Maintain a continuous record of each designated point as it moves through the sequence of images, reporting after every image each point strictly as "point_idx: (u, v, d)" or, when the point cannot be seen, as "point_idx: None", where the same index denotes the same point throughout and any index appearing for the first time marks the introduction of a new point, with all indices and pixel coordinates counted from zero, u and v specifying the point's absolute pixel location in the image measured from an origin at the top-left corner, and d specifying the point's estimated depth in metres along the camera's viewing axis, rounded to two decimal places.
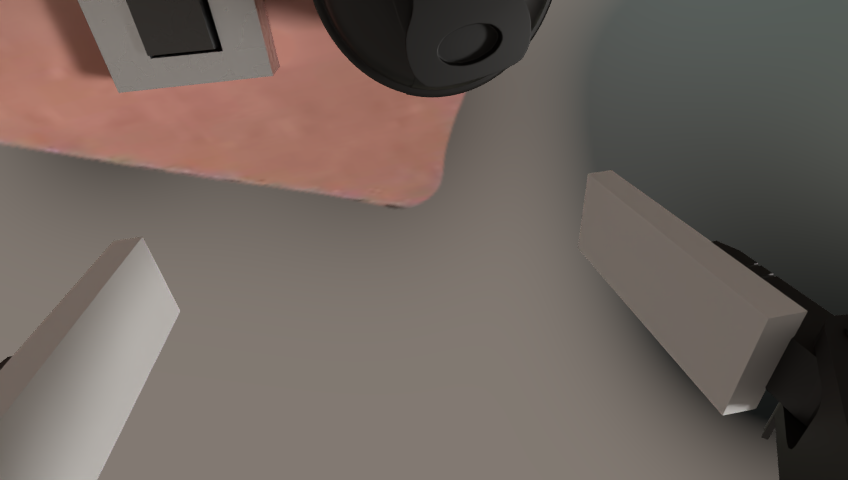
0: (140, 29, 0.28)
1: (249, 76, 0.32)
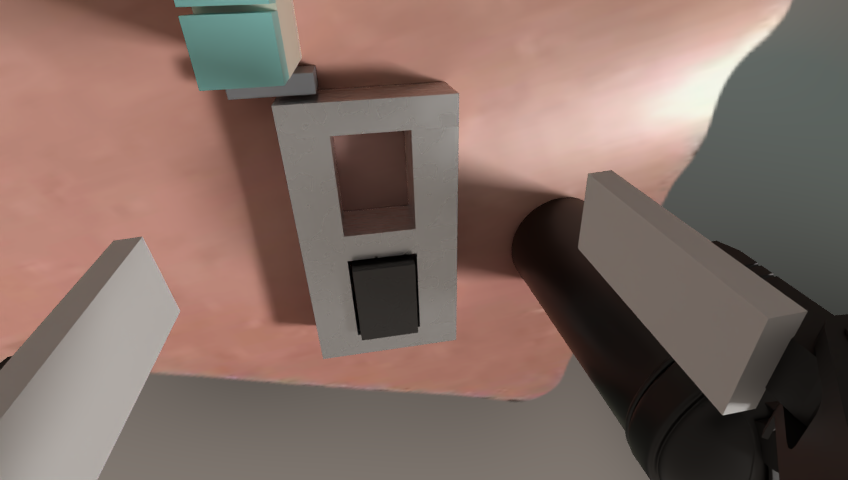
0: (362, 324, 0.32)
1: (436, 341, 0.36)
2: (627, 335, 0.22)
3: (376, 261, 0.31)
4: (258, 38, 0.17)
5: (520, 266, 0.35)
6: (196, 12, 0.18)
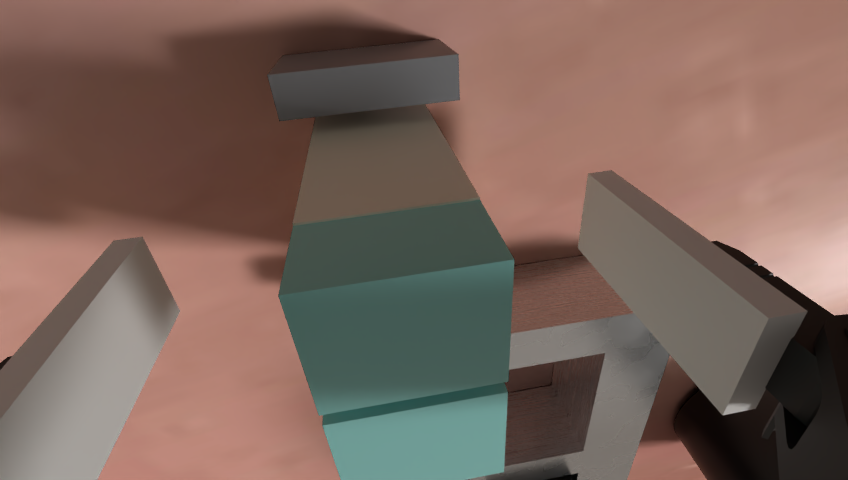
0: None
1: None
2: None
3: None
4: (473, 427, 0.09)
5: (695, 452, 0.26)
6: None
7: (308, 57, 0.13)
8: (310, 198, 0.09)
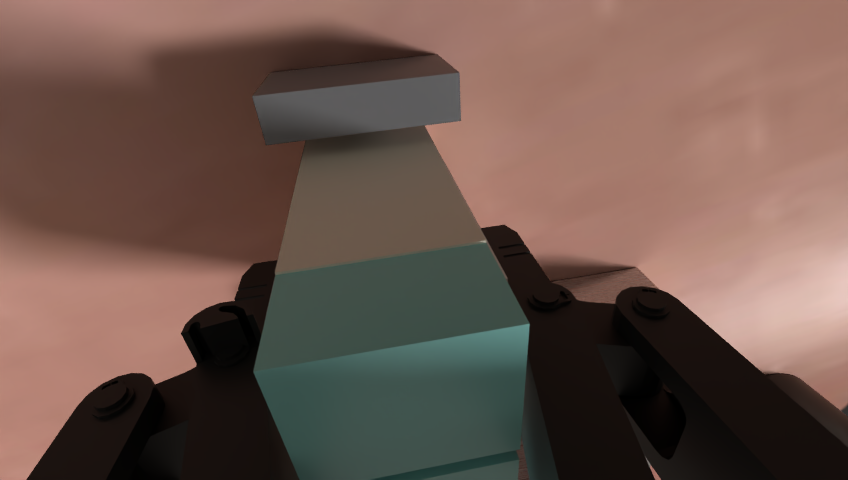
0: None
1: None
2: None
3: None
4: None
5: None
6: None
7: (298, 75, 0.12)
8: (296, 239, 0.08)
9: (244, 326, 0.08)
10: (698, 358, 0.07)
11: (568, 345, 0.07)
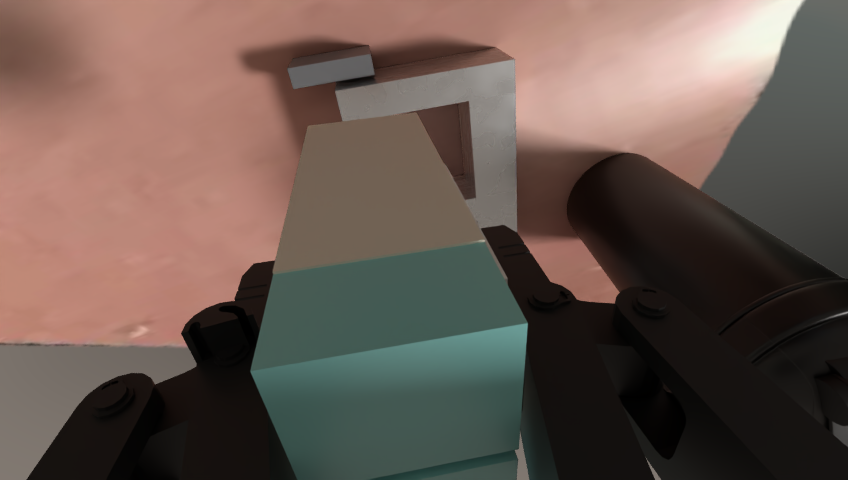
0: None
1: None
2: (686, 297, 0.23)
3: None
4: None
5: (576, 227, 0.36)
6: None
7: None
8: (294, 238, 0.08)
9: (244, 326, 0.08)
10: (698, 358, 0.07)
11: (568, 345, 0.07)
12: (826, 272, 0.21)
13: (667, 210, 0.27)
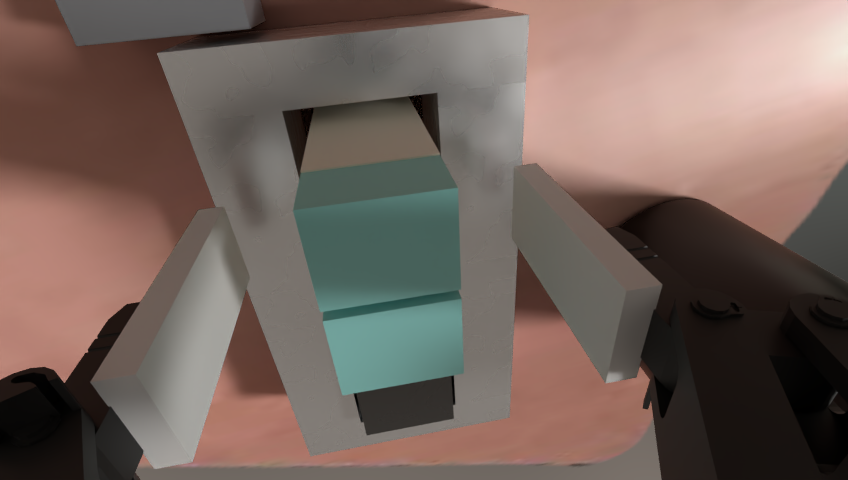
0: (365, 414, 0.20)
1: (480, 421, 0.24)
2: None
3: None
4: (436, 329, 0.11)
5: None
6: None
7: None
8: (313, 155, 0.11)
9: (51, 393, 0.07)
10: None
11: (737, 358, 0.07)
12: None
13: None
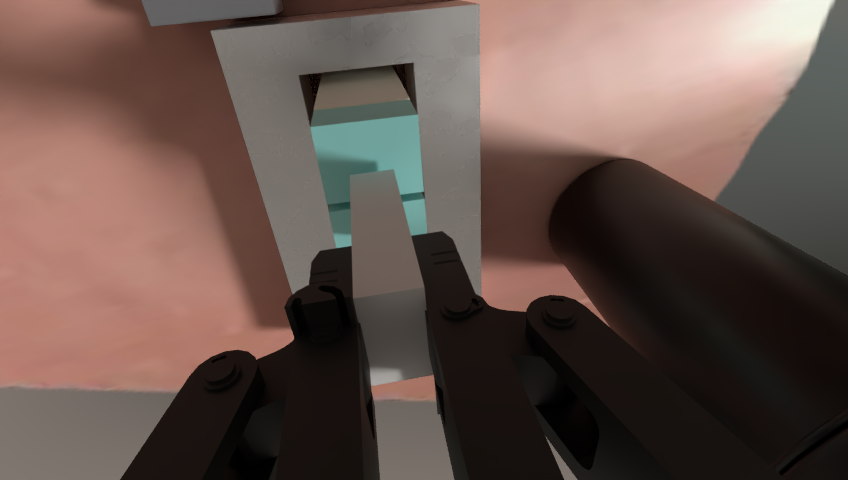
0: None
1: None
2: (736, 378, 0.15)
3: None
4: (408, 223, 0.16)
5: (562, 256, 0.28)
6: None
7: None
8: (321, 101, 0.16)
9: (339, 307, 0.08)
10: (605, 366, 0.07)
11: (480, 353, 0.07)
12: None
13: (690, 240, 0.20)
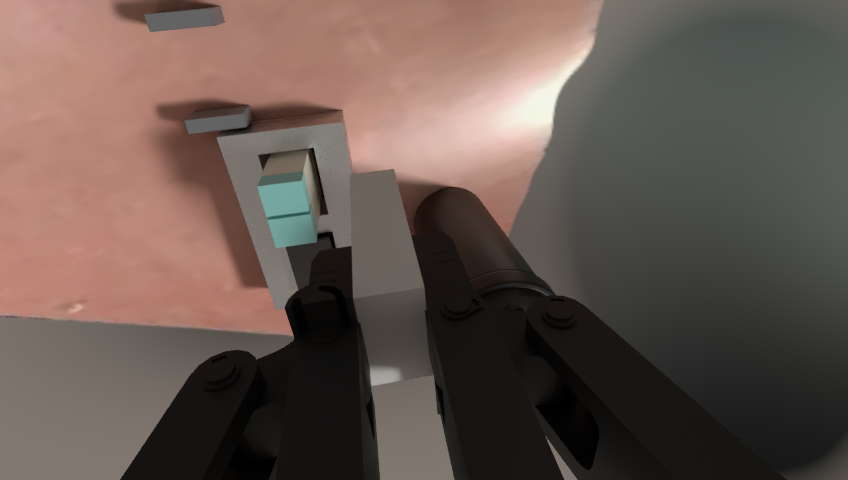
0: (298, 283, 0.45)
1: None
2: None
3: None
4: (303, 224, 0.36)
5: None
6: None
7: (165, 11, 0.34)
8: (265, 171, 0.36)
9: (339, 307, 0.08)
10: (605, 366, 0.07)
11: (480, 353, 0.07)
12: (508, 265, 0.33)
13: (447, 229, 0.40)
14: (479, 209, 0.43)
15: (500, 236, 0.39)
